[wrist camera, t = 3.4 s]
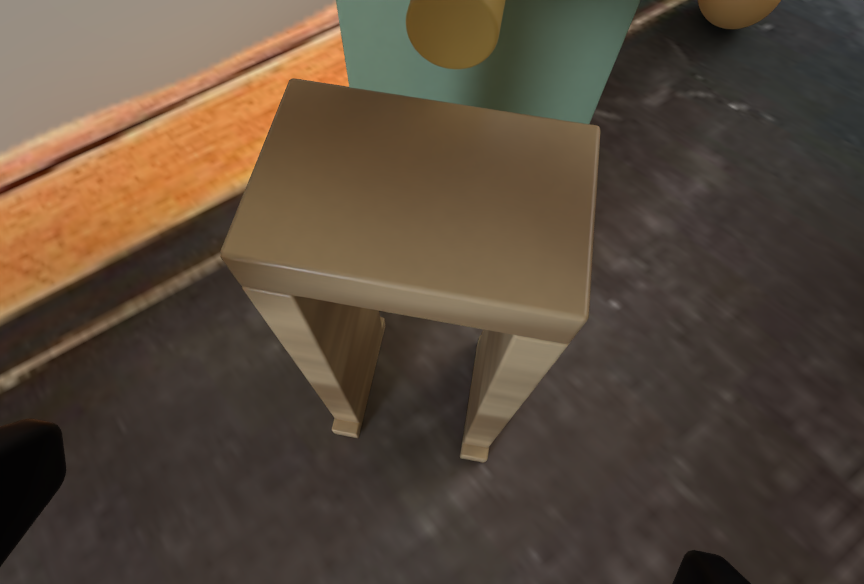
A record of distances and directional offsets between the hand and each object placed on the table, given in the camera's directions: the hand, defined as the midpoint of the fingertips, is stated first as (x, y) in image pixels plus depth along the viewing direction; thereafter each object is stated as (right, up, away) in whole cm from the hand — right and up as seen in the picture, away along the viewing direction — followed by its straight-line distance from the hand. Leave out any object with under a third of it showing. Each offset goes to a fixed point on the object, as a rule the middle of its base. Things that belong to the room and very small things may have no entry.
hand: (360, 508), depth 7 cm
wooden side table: (+1, 0, +12) cm, 12 cm away
